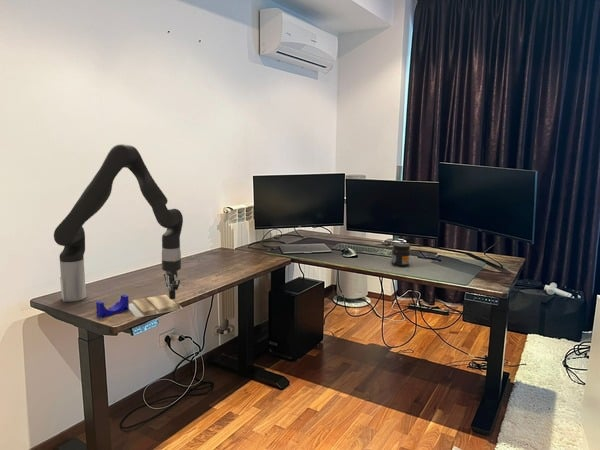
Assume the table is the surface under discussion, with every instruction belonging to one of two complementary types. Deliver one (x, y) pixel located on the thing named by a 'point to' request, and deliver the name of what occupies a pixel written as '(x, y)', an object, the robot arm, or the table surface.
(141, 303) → the laid plank
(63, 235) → the robot arm
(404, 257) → the supplement container
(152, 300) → the click plank
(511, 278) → the table surface
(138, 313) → the plate
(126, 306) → the blue cradle holder
